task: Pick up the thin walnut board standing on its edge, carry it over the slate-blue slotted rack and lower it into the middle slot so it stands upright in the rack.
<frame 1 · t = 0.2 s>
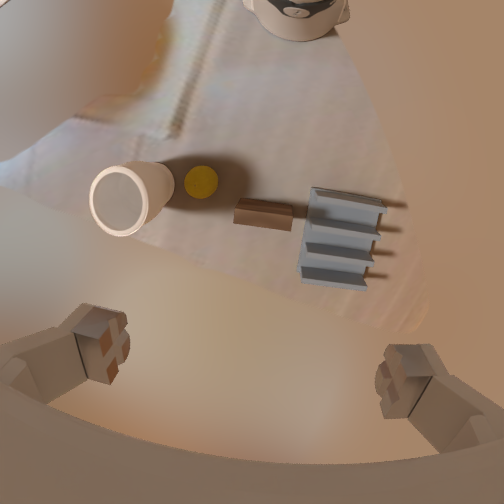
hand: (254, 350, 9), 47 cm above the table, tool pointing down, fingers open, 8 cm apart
rack: (338, 235, 56), on the table
lemon: (206, 178, 55), on the table
board: (265, 207, 55), on the table
jar: (154, 184, 56), on the table
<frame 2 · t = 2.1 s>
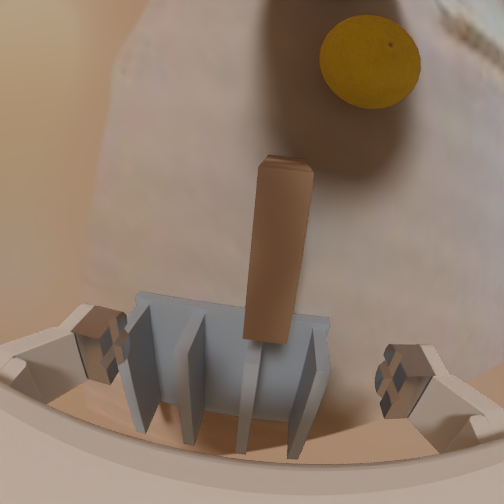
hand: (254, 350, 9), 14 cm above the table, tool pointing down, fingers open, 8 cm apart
rack: (227, 364, 27), on the table
lemon: (353, 75, 18), on the table
board: (279, 219, 22), on the table
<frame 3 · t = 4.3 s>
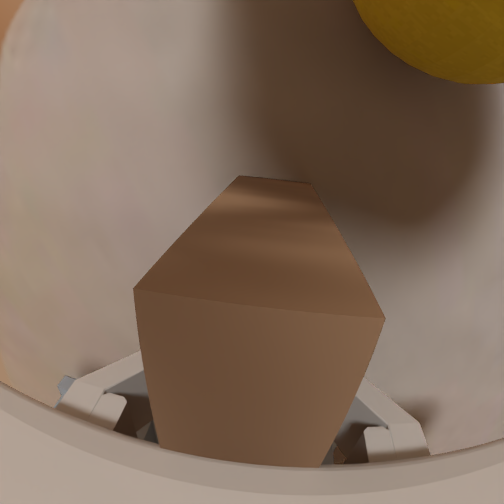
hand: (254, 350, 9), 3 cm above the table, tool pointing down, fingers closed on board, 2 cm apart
rack: (194, 464, 17), on the table
lemon: (401, 25, 8), on the table
board: (261, 298, 12), on the table, touching gripper
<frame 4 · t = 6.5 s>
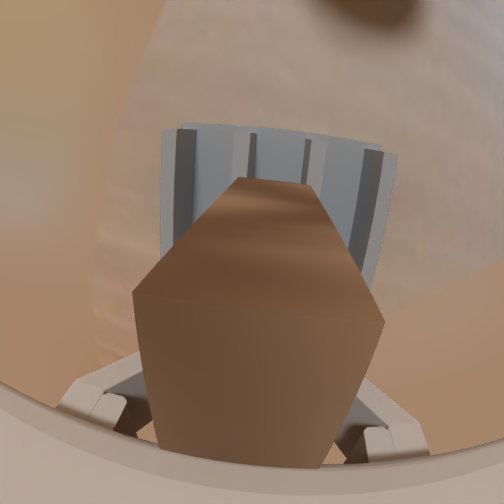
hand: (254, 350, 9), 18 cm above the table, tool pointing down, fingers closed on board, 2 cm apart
rack: (273, 206, 26), on the table
board: (260, 299, 12), point 15 cm above the table, touching gripper
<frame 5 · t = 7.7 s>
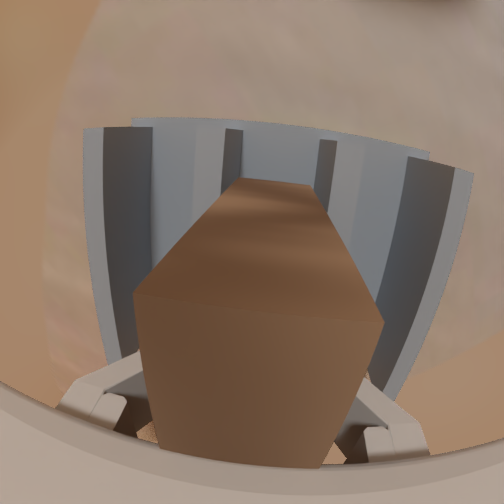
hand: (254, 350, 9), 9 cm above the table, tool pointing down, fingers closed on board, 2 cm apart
rack: (269, 241, 18), on the table
board: (260, 299, 12), point 6 cm above the table, touching gripper
when the fingers open (7 cm above the table, at t = 8.8 s): board drops 2 cm, resting on rack.
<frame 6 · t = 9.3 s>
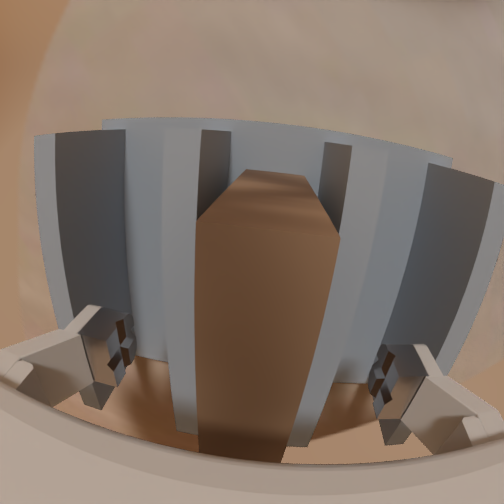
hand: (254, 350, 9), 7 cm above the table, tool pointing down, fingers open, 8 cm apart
rack: (264, 262, 15), on the table
board: (264, 272, 14), point 1 cm above the table, touching rack
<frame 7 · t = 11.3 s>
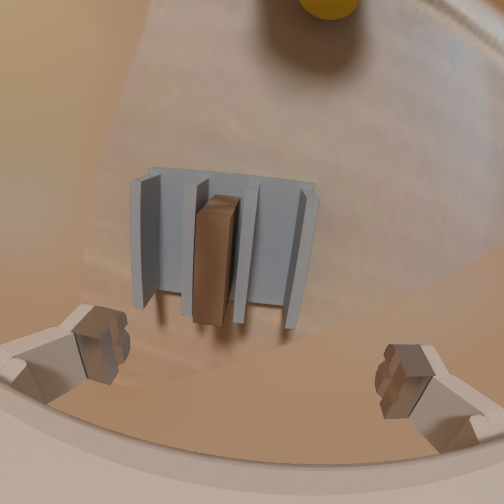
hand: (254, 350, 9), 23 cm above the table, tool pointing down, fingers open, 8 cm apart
rack: (225, 237, 32), on the table
lemon: (321, 8, 23), on the table
board: (224, 240, 31), point 1 cm above the table, touching rack
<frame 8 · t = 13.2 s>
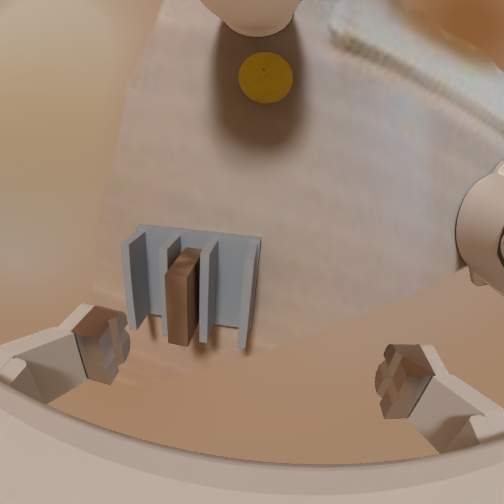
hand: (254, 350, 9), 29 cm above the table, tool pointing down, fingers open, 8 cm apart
rack: (196, 276, 41), on the table
lemon: (267, 84, 32), on the table
board: (194, 280, 40), point 1 cm above the table, touching rack
jar: (257, 9, 28), on the table
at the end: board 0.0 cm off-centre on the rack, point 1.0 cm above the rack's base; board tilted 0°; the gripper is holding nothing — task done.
